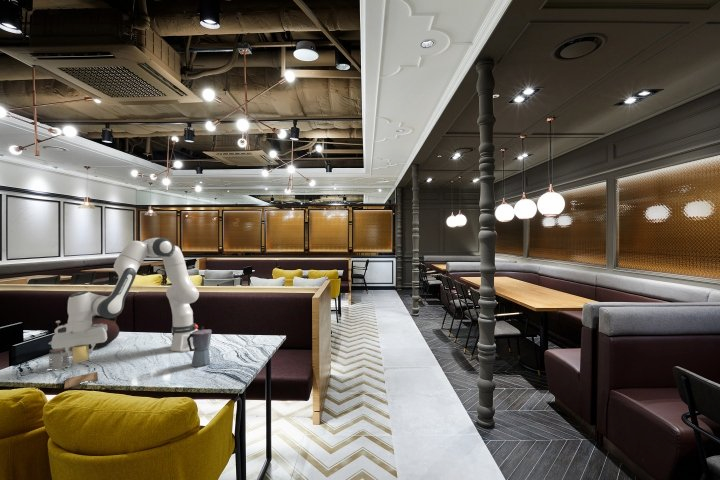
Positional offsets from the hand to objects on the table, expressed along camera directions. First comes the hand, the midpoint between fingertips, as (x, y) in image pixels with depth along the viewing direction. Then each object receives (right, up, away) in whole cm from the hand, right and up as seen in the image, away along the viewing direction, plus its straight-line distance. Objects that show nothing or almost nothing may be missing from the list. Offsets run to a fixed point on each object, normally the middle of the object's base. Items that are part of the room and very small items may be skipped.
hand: (80, 354), depth 156 cm
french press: (-26, -13, +17) cm, 34 cm away
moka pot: (+49, -12, +18) cm, 53 cm away
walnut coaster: (0, -13, 0) cm, 13 cm away
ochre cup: (0, -3, 0) cm, 3 cm away
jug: (-33, -12, +48) cm, 60 cm away
